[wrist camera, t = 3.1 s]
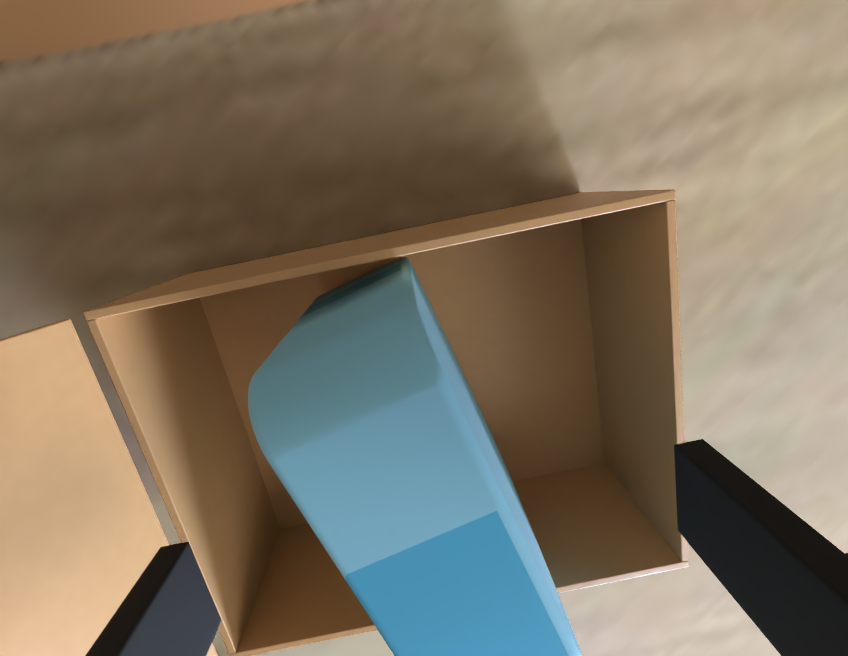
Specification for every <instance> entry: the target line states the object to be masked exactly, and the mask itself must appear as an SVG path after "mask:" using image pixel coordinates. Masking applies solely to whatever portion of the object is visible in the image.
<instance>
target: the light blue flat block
mask: <svg viewBox="0 0 848 656" xmlns="http://www.w3.org/2000/svg"><path fill="white" fill-rule="evenodd" d="M248 408H249V415H250V420H251V424H252V427H253V431H254V434H255V436H256V439H257V441H258V444H259V446H260V448H261V450H262V452H263V454H264V456H265V457H266V459H267V461H268V462H269V464H270V465H271V467H272V468H273V470H274V471H275V473H276V475H277V476H278V478H279V479H280V481H281V482H282V484H283V485H284V487H285V488H286V490H287V491H288V493H289V494H290V496H291V498H292V499H293V501H294V502H295V504H296V505H297V507H298V508H299V510H300V511H301V513H302V514H303V516H304V517H305V519H306V520H307V522H308V524H309V525H310V527H311V528H312V530H313V531H314V533H315V534H316V536H317V537H318V539H319V540H320V542H321V543H322V545H323V547H324V548H325V550H326V551H327V553H328V554H329V556H330V557H331V559H332V560H333V562H334V563H335V565H336V566H337V568H338V569H339V571H340V573H341V574H342V576H343V577H344V579H345V580H346V582H347V583H348V585H349V586H350V588H351V589H352V591H353V592H354V594H355V596H356V597H357V599H358V600H359V602H360V603H361V605H362V606H363V608H364V609H365V611H366V612H367V614H368V615H369V617H370V618H371V620H372V622H373V623H374V625H375V626H376V628H377V629H378V631H379V632H380V634H381V635H382V637H383V638H384V640H385V641H386V643H387V645H388V646H389V648H390V649H391V651H392V652H393V654H394V655H395V656H581V651H580V648H579V645H578V642H577V639H576V637H575V634H574V632H573V629H572V627H571V624H570V622H569V619H568V617H567V614H566V612H565V609H564V607H563V605H562V602H561V600H560V597H559V595H558V592H557V590H556V587H555V585H554V582H553V580H552V577H551V575H550V572H549V570H548V567H547V565H546V562H545V560H544V557H543V555H542V553H541V550H540V548H539V545H538V543H537V540H536V538H535V535H534V533H533V530H532V528H531V525H530V523H529V520H528V518H527V515H526V513H525V510H524V508H523V506H522V503H521V501H520V498H519V496H518V493H517V491H516V488H515V486H514V483H513V481H512V478H511V476H510V473H509V471H508V468H507V466H506V464H505V461H504V459H503V457H502V454H501V452H500V450H499V448H498V445H497V443H496V441H495V439H494V437H493V435H492V432H491V430H490V428H489V426H488V424H487V422H486V420H485V418H484V415H483V413H482V411H481V409H480V407H479V405H478V403H477V401H476V398H475V396H474V394H473V392H472V390H471V388H470V386H469V384H468V382H467V379H466V377H465V375H464V373H463V371H462V369H461V367H460V365H459V362H458V360H457V358H456V356H455V354H454V352H453V350H452V348H451V345H450V343H449V341H448V339H447V337H446V335H445V333H444V331H443V328H442V326H441V324H440V322H439V320H438V318H437V316H436V314H435V311H434V309H433V307H432V305H431V303H430V301H429V299H428V297H427V294H426V292H425V290H424V288H423V286H422V284H421V282H420V280H419V278H418V275H417V273H416V271H415V269H414V267H413V266H412V264H411V262H410V260H409V259H408V258H406V257H400V258H398V259H396V260H394V261H392V262H390V263H388V264H386V265H384V266H381V267H379V268H377V269H375V270H373V271H371V272H369V273H367V274H365V275H362V276H360V277H358V278H356V279H354V280H352V281H350V282H348V283H346V284H343V285H341V286H339V287H337V288H335V289H333V290H331V291H329V292H327V293H324V294H322V295H320V296H318V297H317V298H316V299H315V300H314V301H313V303H312V304H311V305H310V306H309V308H308V309H307V310H306V311H305V312H304V314H303V315H302V316H301V317H300V319H299V320H298V321H297V322H296V323H295V325H294V326H293V327H292V328H291V329H290V331H289V332H288V333H287V334H286V336H285V337H284V338H283V339H282V340H281V342H280V343H279V344H278V345H277V347H276V348H275V349H274V350H273V351H272V353H271V354H270V355H269V356H268V358H267V359H266V360H265V361H264V362H263V364H262V365H261V366H260V367H259V369H258V370H257V371H256V372H255V374H254V375H253V377H252V379H251V382H250V385H249V390H248Z"/></svg>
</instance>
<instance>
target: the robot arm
mask: <svg viewBox="0 0 848 656" xmlns="http://www.w3.org/2000/svg"><path fill="white" fill-rule="evenodd" d="M674 459H675V481H676V503H677V525H678V531H679V532H680V533H681V535H682V536H683V537H684V538H685V540H686V541H687V542H688V543H689V544H690V546H691V547H692V548H693V549H694V550H695V552H696V553H697V554H698V555H699V556H700V558H701V559H702V560H703V561H704V563H705V564H706V565H707V566H708V567H709V569H710V570H711V571H712V572H713V573H714V575H715V576H716V577H717V578H718V579H719V581H720V582H721V583H722V584H723V586H724V587H725V588H726V589H727V590H728V592H729V593H730V594H731V595H732V596H733V598H734V599H735V600H736V601H737V602H738V604H739V605H740V606H741V607H742V609H743V610H744V611H745V612H746V613H747V615H748V616H749V617H750V618H751V619H752V621H753V622H754V623H755V624H756V625H757V627H758V628H759V629H760V630H761V632H762V633H763V634H764V635H765V636H766V638H767V639H768V640H769V641H770V642H771V644H772V645H773V646H774V647H775V648H776V650H777V651H778V652H779V653H780V655H781V656H848V553H845V554H844V553H843V552H842V551H841V550H839V549H838V548H837V547H836V546H834V545H833V544H832V543H831V542H829V541H828V540H827V539H826V538H824V537H823V536H822V535H821V534H820V533H818V532H817V531H816V530H815V529H813V528H812V527H811V526H810V525H808V524H807V523H806V522H805V521H803V520H802V519H801V518H800V517H798V516H797V515H796V514H795V513H793V512H792V511H791V510H790V509H789V508H787V507H786V506H785V505H784V504H782V503H781V502H780V501H779V500H777V499H776V498H775V497H774V496H772V495H771V494H770V493H769V492H767V491H766V490H765V489H764V488H762V487H761V486H760V485H759V484H758V483H756V482H755V481H754V480H753V479H751V478H750V477H749V476H748V475H746V474H745V473H744V472H743V471H741V470H740V469H739V468H738V467H736V466H735V465H734V464H733V463H732V462H730V461H729V460H728V459H727V458H725V457H724V456H723V455H722V454H720V453H719V452H718V451H717V450H715V449H714V448H713V447H712V446H710V445H709V444H708V443H707V442H705V441H704V440H703V439H701V440H696V441H691V442H686V443H681V444H676V445H674ZM220 623H221V617H220V615H219V613H218V610H217V608H216V606H215V603H214V601H213V598H212V596H211V594H210V591H209V589H208V587H207V584H206V582H205V579H204V577H203V575H202V572H201V570H200V568H199V565H198V563H197V561H196V558H195V556H194V553H193V551H192V549H191V546H190V544H189V542H184V543H179V544H174V545H169V546H164V547H160V549H159V550H158V551H157V553H156V554H155V556H154V557H153V559H152V560H151V562H150V563H149V564H148V566H147V567H146V569H145V570H144V572H143V573H142V575H141V576H140V577H139V579H138V580H137V582H136V583H135V585H134V586H133V588H132V589H131V590H130V592H129V593H128V595H127V596H126V598H125V599H124V601H123V602H122V603H121V605H120V606H119V608H118V609H117V611H116V612H115V614H114V615H113V616H112V618H111V619H110V621H109V622H108V624H107V625H106V627H105V628H104V629H103V631H102V632H101V634H100V635H99V637H98V638H97V640H96V641H95V642H94V644H93V645H92V647H91V648H90V650H89V651H88V653H87V654H86V655H85V656H206V655H207V653H208V650H209V648H210V646H211V644H212V641H213V639H214V637H215V634H216V632H217V630H218V627H219V625H220Z"/></svg>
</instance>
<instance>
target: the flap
mask: <svg viewBox="0 0 848 656" xmlns="http://www.w3.org/2000/svg"><path fill="white" fill-rule="evenodd" d="M164 546H169V543H168V540H167V538H166V536H165V534H164V531H163V529H162V527H161V524H160V522H159V520H158V518H157V515H156V513H155V511H154V508H153V506H152V504H151V502H150V499H149V497H148V495H147V492H146V490H145V488H144V486H143V483H142V481H141V479H140V477H139V474H138V472H137V470H136V467H135V465H134V463H133V461H132V458H131V456H130V454H129V451H128V449H127V447H126V445H125V442H124V440H123V438H122V435H121V433H120V431H119V429H118V426H117V424H116V422H115V419H114V417H113V415H112V413H111V410H110V408H109V406H108V404H107V401H106V399H105V397H104V394H103V392H102V390H101V388H100V385H99V383H98V381H97V378H96V376H95V374H94V372H93V369H92V367H91V365H90V362H89V360H88V358H87V356H86V353H85V351H84V349H83V347H82V344H81V342H80V340H79V337H78V335H77V333H76V331H75V328H74V326H73V324H72V321H71V320H70V319H65V320H61V321H58V322H55V323H51V324H48V325H45V326H42V327H38V328H35V329H32V330H29V331H25V332H22V333H19V334H16V335H12V336H9V337H6V338H3V339H0V656H85V655H86V654H87V653H88V651H89V650H90V648H91V647H92V645H93V644H94V642H95V641H96V640H97V638H98V637H99V635H100V634H101V632H102V631H103V629H104V628H105V627H106V625H107V624H108V622H109V621H110V619H111V618H112V616H113V615H114V614H115V612H116V611H117V609H118V608H119V606H120V605H121V603H122V602H123V601H124V599H125V598H126V596H127V595H128V593H129V592H130V590H131V589H132V588H133V586H134V585H135V583H136V582H137V580H138V579H139V577H140V576H141V575H142V573H143V572H144V570H145V569H146V567H147V566H148V564H149V563H150V562H151V560H152V559H153V557H154V556H155V554H156V553H157V551H158V550H159V549H160V547H164ZM206 656H218V654H217V652H216V650H215V648H214V645H213V643H212V644H211V646H210V648H209V650H208V653H207V655H206Z"/></svg>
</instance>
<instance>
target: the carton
mask: <svg viewBox="0 0 848 656" xmlns="http://www.w3.org/2000/svg"><path fill="white" fill-rule="evenodd" d="M674 199H675V190H644V191H610V192H581V193H577V194H572V195H567V196H562V197H557V198H552V199H547V200H543V201H538V202H533V203H528V204H523V205H518V206H514V207H509V208H504V209H499V210H494V211H489V212H485V213H480V214H475V215H470V216H465V217H460V218H456V219H451V220H446V221H441V222H436V223H431V224H427V225H422V226H417V227H412V228H407V229H402V230H398V231H393V232H388V233H383V234H378V235H373V236H369V237H364V238H359V239H354V240H349V241H344V242H340V243H335V244H330V245H325V246H320V247H315V248H311V249H306V250H301V251H296V252H291V253H286V254H282V255H277V256H272V257H267V258H262V259H257V260H253V261H248V262H243V263H238V264H233V265H228V266H224V267H219V268H214V269H209V270H204V271H199V272H195V273H190V274H186V275H184V276H181V277H178V278H175V279H173V280H170V281H167V282H164V283H162V284H159V285H156V286H153V287H150V288H148V289H145V290H142V291H139V292H137V293H134V294H131V295H128V296H125V297H123V298H120V299H117V300H114V301H112V302H109V303H106V304H103V305H101V306H98V307H95V308H92V309H89V310H87V311H84V312H83V314H84V316H85V319H86V320H87V323H88V326H89V328H90V330H91V333H92V335H93V337H94V340H95V342H96V344H97V347H98V349H99V351H100V354H101V356H102V358H103V361H104V363H105V365H106V368H107V370H108V372H109V375H110V377H111V379H112V382H113V384H114V386H115V389H116V391H117V393H118V396H119V398H120V400H121V403H122V405H123V407H124V410H125V412H126V414H127V417H128V419H129V421H130V424H131V426H132V428H133V431H134V433H135V435H136V438H137V440H138V442H139V445H140V447H141V449H142V452H143V454H144V456H145V459H146V461H147V463H148V466H149V468H150V470H151V473H152V475H153V477H154V480H155V482H156V484H157V487H158V489H159V491H160V494H161V496H162V498H163V501H164V503H165V505H166V508H167V510H168V512H169V515H170V517H171V519H172V522H173V524H174V526H175V529H176V531H177V533H178V536H179V538H180V540H181V543H184V542H189V544H190V546H191V549H192V551H193V553H194V556H195V558H196V561H197V563H198V565H199V568H200V570H201V572H202V575H203V577H204V579H205V582H206V584H207V587H208V589H209V591H210V594H211V596H212V598H213V601H214V603H215V606H216V608H217V610H218V613H219V615H220V617H221V623H220V625H219V627H218V629H219V631H220V634H221V636H222V638H223V641H224V643H225V645H226V648H227V650H228V652H229V654H230V656H252V655H256V654H261V653H266V652H271V651H276V650H281V649H286V648H291V647H296V646H301V645H305V644H310V643H315V642H320V641H325V640H330V639H335V638H340V637H345V636H350V635H355V634H359V633H364V632H369V631H374V630H378V629H377V628H376V626H375V625H374V623H373V622H372V620H371V618H370V617H369V615H368V614H367V612H366V611H365V609H364V608H363V606H362V605H361V603H360V602H359V600H358V599H357V597H356V596H355V594H354V592H353V591H352V589H351V588H350V586H349V585H348V583H347V582H346V580H345V579H344V577H343V576H342V574H341V573H340V571H339V569H338V568H337V566H336V565H335V563H334V562H333V560H332V559H331V557H330V556H329V554H328V553H327V551H326V550H325V548H324V547H323V545H322V543H321V542H320V540H319V539H318V537H317V536H316V534H315V533H314V531H313V530H312V528H311V527H310V525H309V524H308V522H307V520H306V519H305V517H304V516H303V514H302V513H301V511H300V510H299V508H298V507H297V505H296V504H295V502H294V501H293V499H292V498H291V496H290V494H289V493H288V491H287V490H286V488H285V487H284V485H283V484H282V482H281V481H280V479H279V478H278V476H277V475H276V473H275V471H274V470H273V468H272V467H271V465H270V464H269V462H268V461H267V459H266V457H265V456H264V454H263V452H262V450H261V448H260V446H259V444H258V441H257V439H256V436H255V434H254V431H253V427H252V424H251V420H250V415H249V408H248V390H249V385H250V382H251V379H252V377H253V375H254V374H255V372H256V371H257V370H258V369H259V367H260V366H261V365H262V364H263V362H264V361H265V360H266V359H267V358H268V356H269V355H270V354H271V353H272V351H273V350H274V349H275V348H276V347H277V345H278V344H279V343H280V342H281V340H282V339H283V338H284V337H285V336H286V334H287V333H288V332H289V331H290V329H291V328H292V327H293V326H294V325H295V323H296V322H297V321H298V320H299V319H300V317H301V316H302V315H303V314H304V312H305V311H306V310H307V309H308V308H309V306H310V305H311V304H312V303H313V301H314V300H315V299H316V298H317V297H318V296H320V295H322V294H324V293H327V292H329V291H331V290H333V289H335V288H337V287H339V286H341V285H343V284H346V283H348V282H350V281H352V280H354V279H356V278H358V277H360V276H362V275H365V274H367V273H369V272H371V271H373V270H375V269H377V268H379V267H381V266H384V265H386V264H388V263H390V262H392V261H394V260H396V259H398V258H400V257H406V258H408V259H409V260H410V262H411V264H412V266H413V267H414V269H415V271H416V273H417V275H418V278H419V280H420V282H421V284H422V286H423V288H424V290H425V292H426V294H427V297H428V299H429V301H430V303H431V305H432V307H433V309H434V311H435V314H436V316H437V318H438V320H439V322H440V324H441V326H442V328H443V331H444V333H445V335H446V337H447V339H448V341H449V343H450V345H451V348H452V350H453V352H454V354H455V356H456V358H457V360H458V362H459V365H460V367H461V369H462V371H463V373H464V375H465V377H466V379H467V382H468V384H469V386H470V388H471V390H472V392H473V394H474V396H475V398H476V401H477V403H478V405H479V407H480V409H481V411H482V413H483V415H484V418H485V420H486V422H487V424H488V426H489V428H490V430H491V432H492V435H493V437H494V439H495V441H496V443H497V445H498V448H499V450H500V452H501V454H502V457H503V459H504V461H505V464H506V466H507V468H508V471H509V473H510V476H511V478H512V481H513V483H514V486H515V488H516V491H517V493H518V496H519V498H520V501H521V503H522V506H523V508H524V510H525V513H526V515H527V518H528V520H529V523H530V525H531V528H532V530H533V533H534V535H535V538H536V540H537V543H538V545H539V548H540V550H541V553H542V555H543V557H544V560H545V562H546V565H547V567H548V570H549V572H550V575H551V577H552V580H553V582H554V585H555V587H556V590H557V592H558V593H561V592H566V591H570V590H575V589H580V588H585V587H590V586H595V585H600V584H605V583H610V582H615V581H620V580H624V579H629V578H634V577H639V576H644V575H649V574H654V573H659V572H664V571H669V570H674V569H678V568H683V567H688V566H689V550H688V542H687V541H686V540H685V538H684V537H683V536H682V535H681V533H680V532H679V531H678V525H677V503H676V481H675V459H674V445H676V444H681V443H684V417H683V390H682V364H681V337H680V311H679V284H678V257H677V231H676V204H675V200H674Z"/></svg>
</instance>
